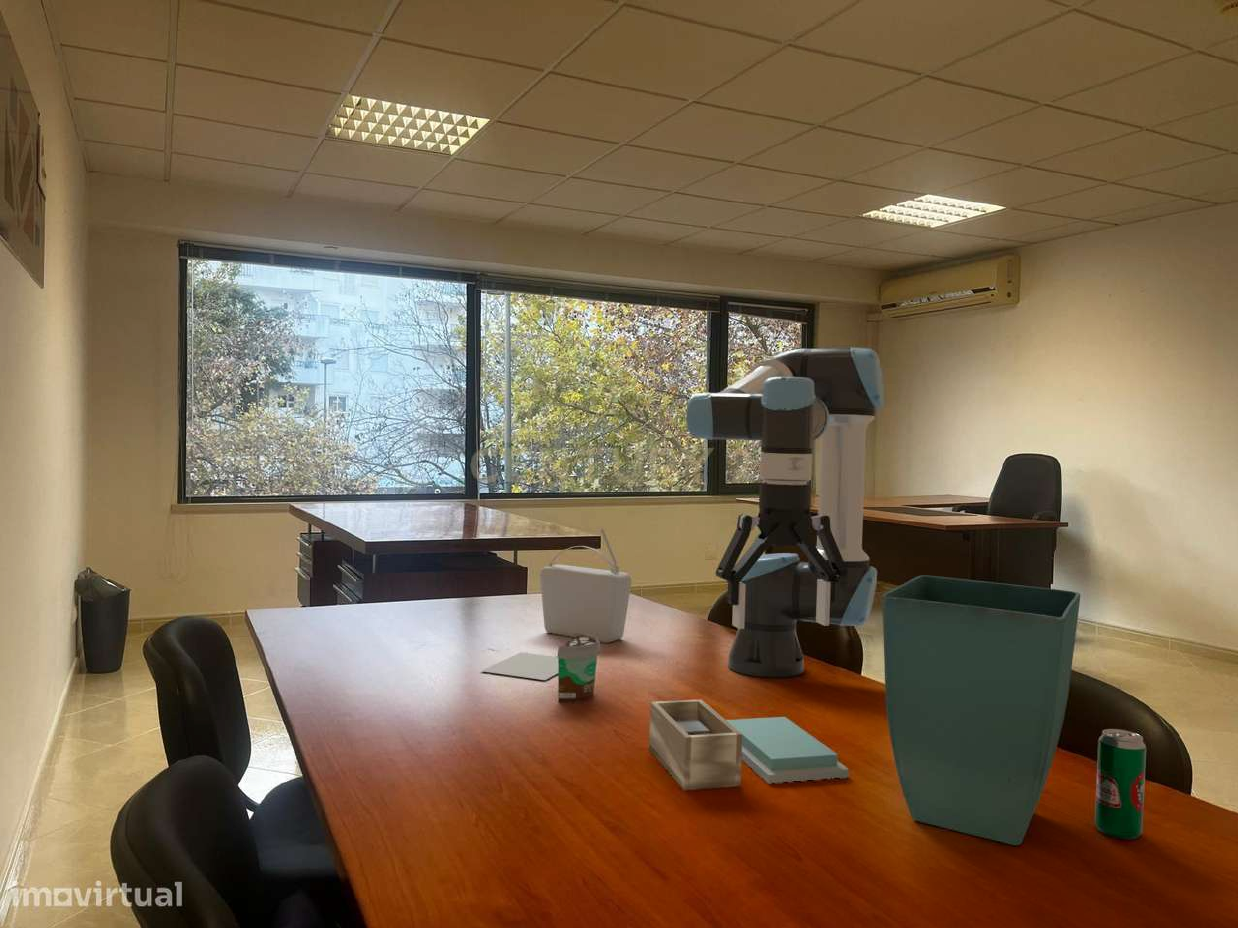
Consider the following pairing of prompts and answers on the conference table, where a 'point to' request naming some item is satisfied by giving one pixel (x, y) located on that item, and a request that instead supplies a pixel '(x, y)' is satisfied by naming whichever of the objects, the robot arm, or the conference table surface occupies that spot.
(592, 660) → the food container
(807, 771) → the mat
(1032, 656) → the flower pot
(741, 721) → the lid
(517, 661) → the paper stack
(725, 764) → the box
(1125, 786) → the soda can
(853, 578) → the robot arm
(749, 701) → the conference table surface
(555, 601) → the radio
